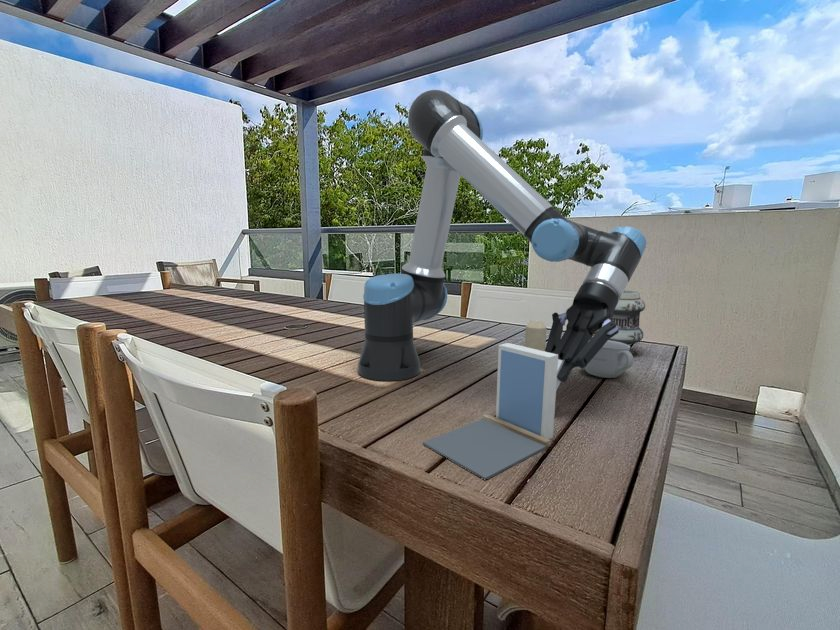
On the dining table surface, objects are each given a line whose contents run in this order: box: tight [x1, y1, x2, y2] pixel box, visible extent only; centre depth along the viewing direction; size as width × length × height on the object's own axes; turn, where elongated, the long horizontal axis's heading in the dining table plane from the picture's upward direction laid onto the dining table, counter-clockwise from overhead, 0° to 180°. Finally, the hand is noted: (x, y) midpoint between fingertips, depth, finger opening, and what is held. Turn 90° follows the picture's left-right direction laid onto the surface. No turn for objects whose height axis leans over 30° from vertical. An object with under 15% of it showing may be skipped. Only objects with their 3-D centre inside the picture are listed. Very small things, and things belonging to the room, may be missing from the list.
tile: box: [495, 342, 558, 440], centre depth 70 cm, size 3×10×14 cm, turn 40°
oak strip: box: [482, 413, 552, 449], centre depth 70 cm, size 1×13×1 cm, turn 40°
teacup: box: [583, 340, 634, 379], centre depth 99 cm, size 14×11×8 cm
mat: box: [422, 418, 548, 481], centre depth 65 cm, size 15×13×1 cm
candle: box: [524, 320, 548, 351], centre depth 116 cm, size 6×6×10 cm
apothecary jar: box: [596, 289, 646, 357], centre depth 120 cm, size 12×12×18 cm
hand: (545, 393), depth 74 cm, fingers closed
